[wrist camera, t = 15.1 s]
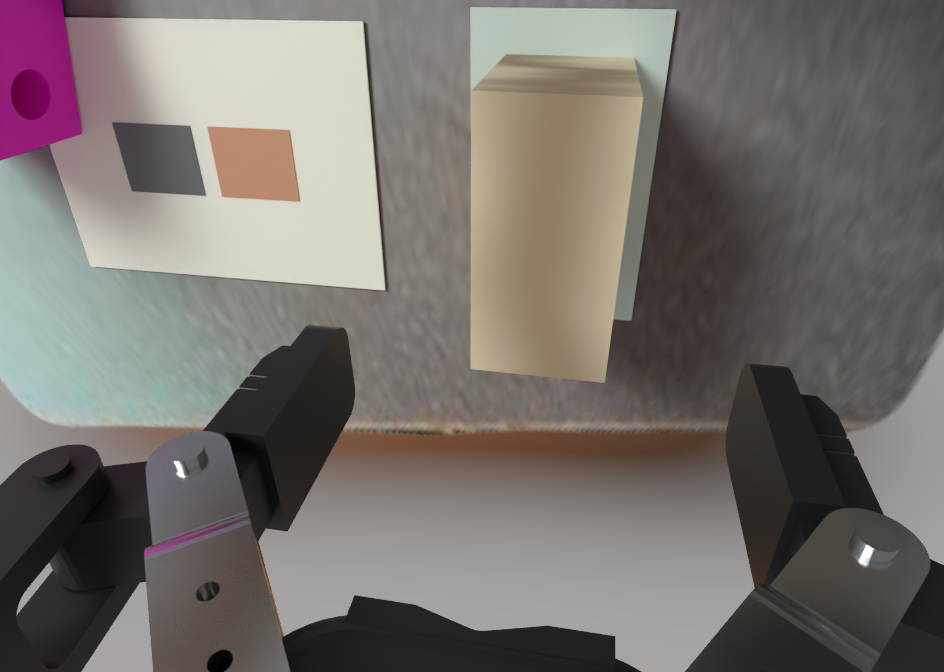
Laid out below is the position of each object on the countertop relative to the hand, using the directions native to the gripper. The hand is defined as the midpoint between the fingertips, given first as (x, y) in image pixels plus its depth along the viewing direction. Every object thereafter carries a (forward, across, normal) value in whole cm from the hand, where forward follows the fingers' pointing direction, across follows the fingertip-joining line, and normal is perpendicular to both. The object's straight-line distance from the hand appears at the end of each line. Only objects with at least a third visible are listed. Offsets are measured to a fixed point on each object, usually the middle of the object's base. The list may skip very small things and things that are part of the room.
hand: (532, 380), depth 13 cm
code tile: (+14, +15, 0) cm, 21 cm away
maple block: (+14, 0, 0) cm, 14 cm away
